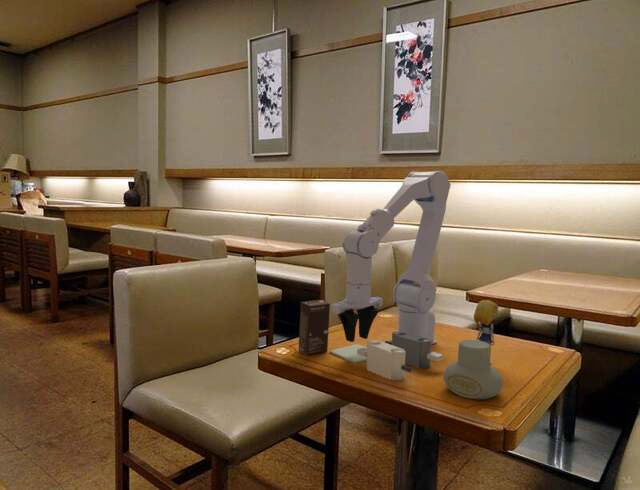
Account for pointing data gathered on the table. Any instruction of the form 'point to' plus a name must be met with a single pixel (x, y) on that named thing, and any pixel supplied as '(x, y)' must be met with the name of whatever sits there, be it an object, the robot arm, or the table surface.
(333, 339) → the table surface
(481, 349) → the air freshener
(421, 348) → the charcoal plug
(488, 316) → the figurine
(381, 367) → the white plug
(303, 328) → the box
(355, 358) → the sage pad
